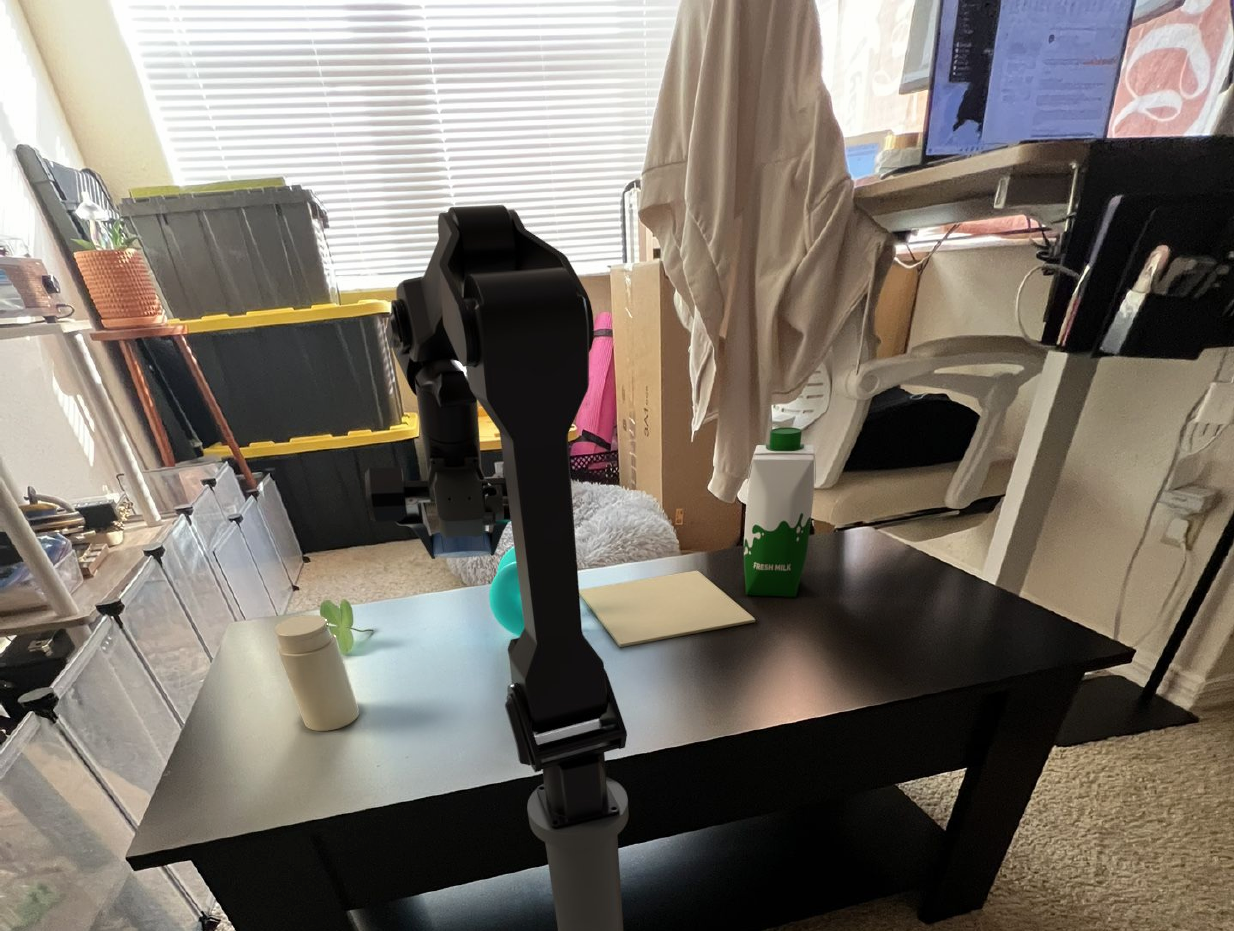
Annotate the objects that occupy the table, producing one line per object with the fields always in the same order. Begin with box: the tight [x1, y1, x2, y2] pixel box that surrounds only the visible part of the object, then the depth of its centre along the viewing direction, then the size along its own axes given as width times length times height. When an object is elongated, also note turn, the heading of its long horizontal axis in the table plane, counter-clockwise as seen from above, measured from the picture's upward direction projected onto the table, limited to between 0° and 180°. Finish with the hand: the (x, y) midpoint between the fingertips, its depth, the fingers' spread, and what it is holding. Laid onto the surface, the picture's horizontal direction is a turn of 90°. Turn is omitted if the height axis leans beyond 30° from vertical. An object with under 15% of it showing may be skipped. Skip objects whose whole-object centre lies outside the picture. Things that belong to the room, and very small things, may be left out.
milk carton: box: [743, 426, 817, 598], centre depth 99 cm, size 9×9×20 cm
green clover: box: [319, 599, 374, 656], centre depth 97 cm, size 7×8×7 cm
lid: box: [431, 530, 492, 559], centre depth 84 cm, size 7×7×2 cm
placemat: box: [579, 570, 757, 648], centre depth 101 cm, size 20×19×1 cm
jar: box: [274, 614, 360, 732], centre depth 78 cm, size 6×6×11 cm
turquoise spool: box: [488, 546, 524, 637], centre depth 95 cm, size 10×10×10 cm
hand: (462, 555), depth 86 cm, fingers closed on lid, 6 cm apart
